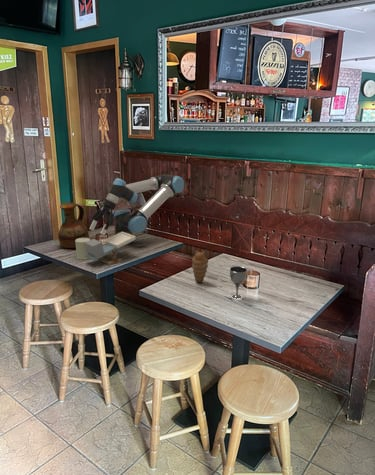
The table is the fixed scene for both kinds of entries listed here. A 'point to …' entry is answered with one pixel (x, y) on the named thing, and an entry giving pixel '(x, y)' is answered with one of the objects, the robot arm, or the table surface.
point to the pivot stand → (110, 258)
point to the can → (81, 248)
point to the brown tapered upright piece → (199, 266)
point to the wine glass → (237, 277)
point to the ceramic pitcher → (72, 226)
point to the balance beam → (107, 245)
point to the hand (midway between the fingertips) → (96, 232)
